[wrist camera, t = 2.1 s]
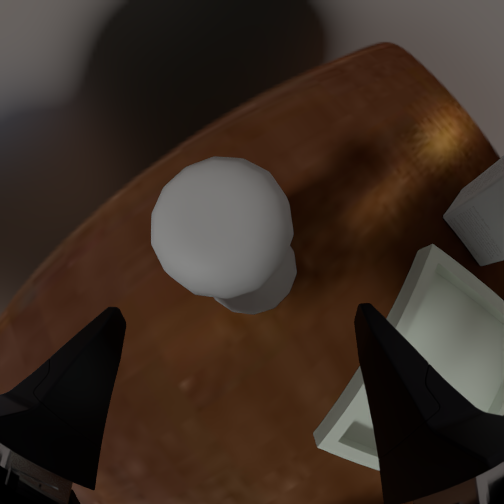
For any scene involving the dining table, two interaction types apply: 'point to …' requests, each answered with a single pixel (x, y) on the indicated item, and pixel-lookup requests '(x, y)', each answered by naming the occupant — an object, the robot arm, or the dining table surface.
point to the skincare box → (481, 215)
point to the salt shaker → (226, 234)
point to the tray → (430, 349)
